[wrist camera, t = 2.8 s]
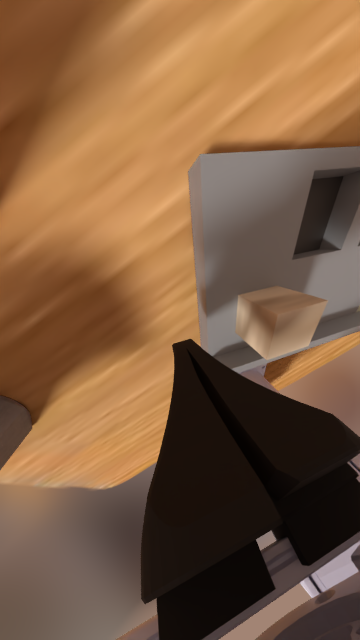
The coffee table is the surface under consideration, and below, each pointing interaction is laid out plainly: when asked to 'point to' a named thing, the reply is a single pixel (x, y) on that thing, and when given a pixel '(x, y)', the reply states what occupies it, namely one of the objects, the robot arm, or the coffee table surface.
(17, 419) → the coffeepot
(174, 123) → the coffee table surface
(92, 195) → the coffee table surface
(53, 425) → the coffee table surface
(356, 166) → the box
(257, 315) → the block
